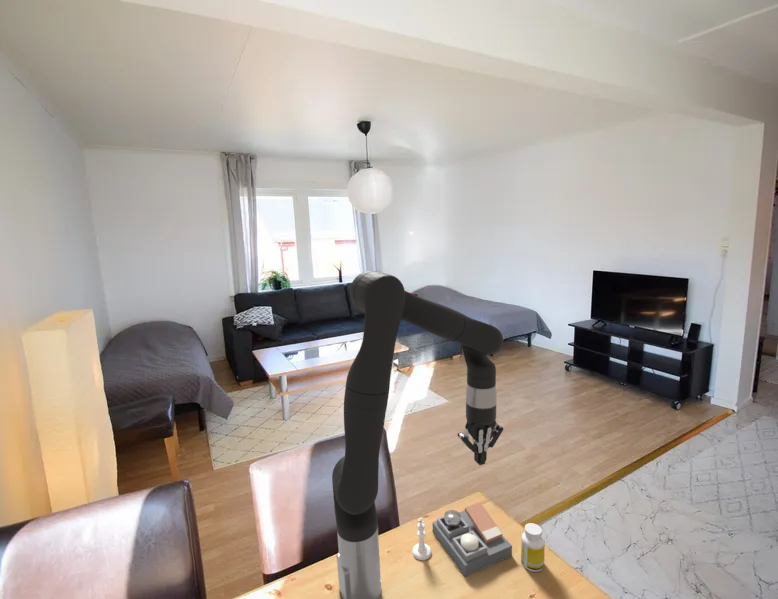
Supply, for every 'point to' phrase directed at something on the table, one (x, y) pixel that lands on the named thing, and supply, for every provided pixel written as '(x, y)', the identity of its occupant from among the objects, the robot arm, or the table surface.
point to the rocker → (483, 522)
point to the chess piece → (421, 544)
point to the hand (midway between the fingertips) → (480, 463)
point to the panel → (476, 558)
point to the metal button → (452, 519)
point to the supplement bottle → (532, 548)
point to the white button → (469, 543)
